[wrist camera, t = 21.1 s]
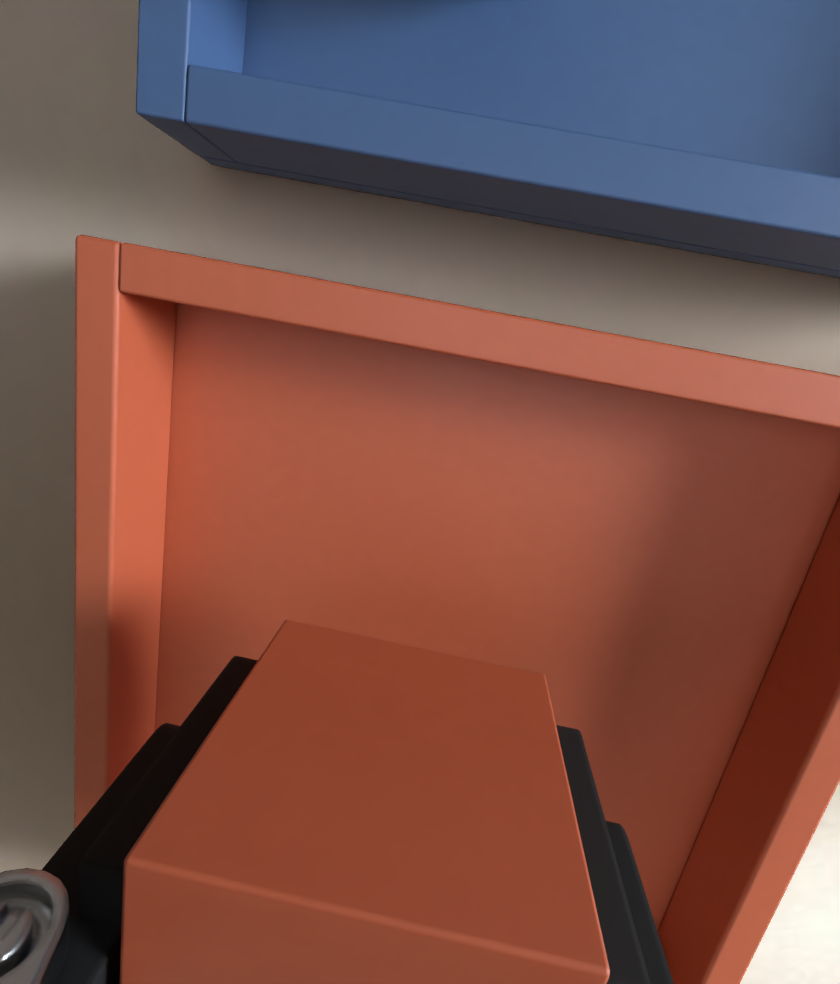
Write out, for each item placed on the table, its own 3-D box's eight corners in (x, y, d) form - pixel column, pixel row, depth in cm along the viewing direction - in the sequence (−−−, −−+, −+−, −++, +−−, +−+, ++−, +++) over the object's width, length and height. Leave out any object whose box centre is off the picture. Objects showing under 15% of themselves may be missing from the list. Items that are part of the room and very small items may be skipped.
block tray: (134, 823, 16) (72, 914, 13) (158, 256, 12) (73, 232, 9) (665, 943, 15) (703, 1060, 13) (900, 394, 11) (1026, 410, 8)
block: (259, 821, 10) (110, 1159, 6) (285, 617, 9) (120, 860, 5) (488, 874, 10) (500, 1257, 6) (546, 673, 9) (613, 974, 5)
